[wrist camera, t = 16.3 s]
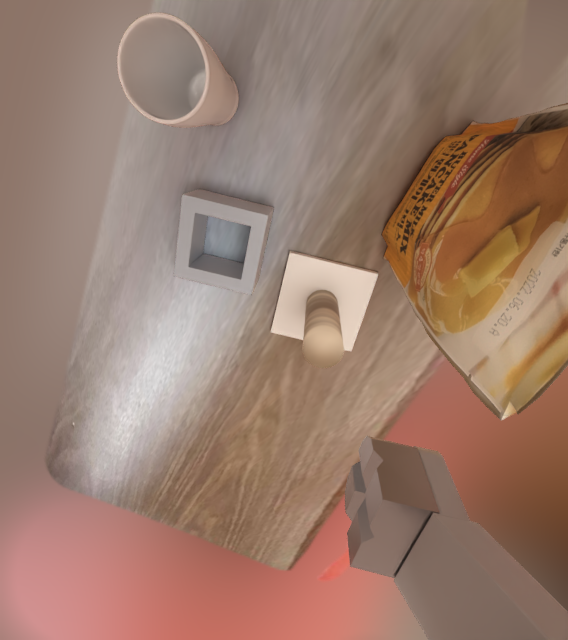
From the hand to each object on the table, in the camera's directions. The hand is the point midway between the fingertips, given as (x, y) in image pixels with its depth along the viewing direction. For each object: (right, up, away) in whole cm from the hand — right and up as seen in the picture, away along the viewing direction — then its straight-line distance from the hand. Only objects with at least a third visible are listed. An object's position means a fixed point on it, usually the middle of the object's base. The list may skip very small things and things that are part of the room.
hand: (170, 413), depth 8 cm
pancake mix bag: (+19, +16, +35) cm, 43 cm away
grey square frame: (-4, +12, +38) cm, 40 cm away
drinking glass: (-5, +26, +32) cm, 41 cm away
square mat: (+7, +4, +40) cm, 41 cm away
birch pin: (+7, +4, +40) cm, 40 cm away
